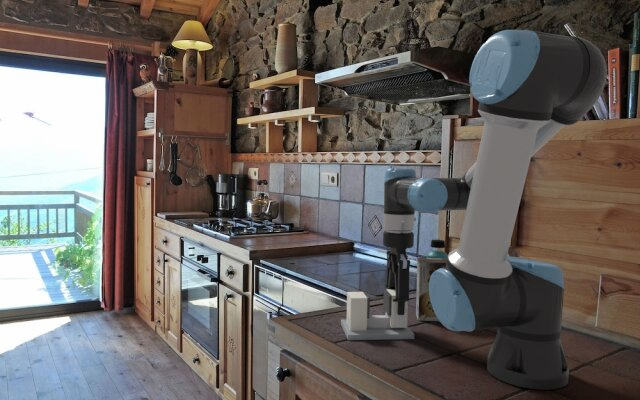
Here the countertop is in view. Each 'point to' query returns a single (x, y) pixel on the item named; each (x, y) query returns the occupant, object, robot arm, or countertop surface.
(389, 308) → the white bridge block
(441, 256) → the beverage bottle
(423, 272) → the coffee box
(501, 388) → the countertop surface
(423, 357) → the countertop surface
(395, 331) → the rail base
